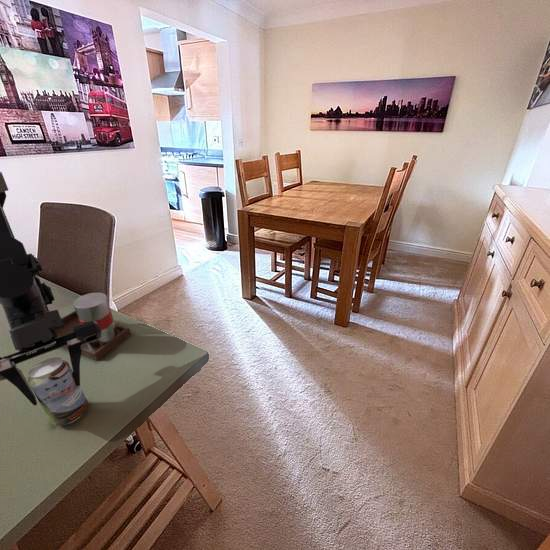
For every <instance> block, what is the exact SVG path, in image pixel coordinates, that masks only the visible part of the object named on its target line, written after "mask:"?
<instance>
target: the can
mask: <svg viewBox="0 0 550 550" xmlns="http://www.w3.org/2000/svg"><path fill="white" fill-rule="evenodd" d="M73 307H74V311H76V313H77V316H78V320H79V323H80V325H81V324H84V323H87V322H90V321H95V322H97V323H98V325H99V328H100V330H101V338H99V339H97V340H94V341H91V342H89V343H87V345H88V347H89V348H90V349H92V350H98V349H99V348H101V347H102V346H103V345H105V344H106V343H108V342H110V341H111V340H113V339H114V338H115V337H116V336H117V331H116V328H115V324H116V323H115V321H114V317H113V313H112V309H111V307H110V303H109V300H108V296H107V295H106V294H105V293H104V292H90V293H86V294H83V295H81V296H79V297H77V298H76V299H75V300H74V301H73ZM114 323H115V324H114Z"/></svg>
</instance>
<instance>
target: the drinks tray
mask: <svg viewBox="0 0 550 550" xmlns="http://www.w3.org/2000/svg"><path fill="white" fill-rule="evenodd" d="M61 320H62V322H63V325H64V327H62V328H59V329H56V330H55V331H56V334H57V337H58V338H59V337H62V336H65V335H68V334H71V333H74V331H73V327H75V326H78V325H80V323H79V320H78V316H77V313H76V310H73V311H71V312H70V313H69V314H68V313H67V315H65V316H63V317H61ZM114 324H115V328H116V331H117V336H116V337H115V338H114V339H113V340H111V341H110V342H108V343H106V344H105V345H103V346H102V347H101V348H99V349H98V350H92V349H90V348H89V347H88V345H87V348H85V349H82V352H81V356H83V357H86V358H89V359H91V360H94V361H96V362H97V361H99V360H101V358H103V357H105V356H106V354H108V353H109V352H110V351H112V350H113V349H115V348H116V347H117V346H118V345H119V344H120V343H122V342H124V340H126V339H127V338H128V337H130V336H131V334H132V333H131V330H130V327H127V326H124V325H121V324H119V323H115V322H114ZM54 345H55V344H54ZM61 349H65V350H67V351H69V350H68V345H67V346H64V347H61Z"/></svg>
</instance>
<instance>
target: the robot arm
mask: <svg viewBox="0 0 550 550" xmlns="http://www.w3.org/2000/svg"><path fill="white" fill-rule="evenodd" d="M7 191H9V187H8V184H7V182H6V179H5V177H4V175H3V172H2V171H0V305H1V306H2V308H3V311H4V314H5V317H6V319H7V322H8V326H9V334H10V338H11V341H12V344H13V347H14V349H15V350H16V351H17V352H14V353H12V354H8V355H6V356H3V357H2V356H0V382H1V381H4V380H7V381H8V382H9V383H10V384H12V385H13V386H15V388H17V389H18V390H19V391H20V392H21V393H22V395H23V396H24V397H25V398H26V399H27V400H28V401H29V402H30V403H31V404H32V406H37V405H38V400H37V397H36V396H35V394H34V392H33V391H32V389H31V387H30V385H29V383H28V379H27V378H26V376H25V375H24V373H23V370H21V369H20V368H18V365H19V364H21V363H24V362H26V361H29V360H32V359H35V358H37V357H39V356H43V355H45V354H47V353H51V352H52V351H55V350H56V351H57V350H59V349H62V347H64V346H67V345H68V350H67V351H68V354H69V358H70V364H71V369H72V371H73V374H74V378H75V381H76V383H77V386H80V387H81V358H82V355H81V352H82V349H85V348H87V343H89V342H91V341H94V340H97V339H99V338H101V330H100V328H99V325H98V323H97V322H95V321H90V322H87V323H84V324H81V325H78V326H75V327H73V331H74V333H71V334H68V335H65V336H62V337H59V338H58V337H57V334H56V331H55V330H56V329H59V328H62V327H64V325H63V322H62V320H61V318H62V317H61V315H60V312H59V309H54V310H49V308H48V305H53V302H54V301H55V297H54V294H53V292H52V289H51V287H50V286H48V285H47V284H46V283H45V282H41V280H40V275H41V274H40V273H41V271H43V268H42V265H41V263H40V260H39V258H38V257H35V255H34V254H33V253H27V251H26V248H25V245H24V243H23V242H22V241H20V240H19V239H17V238H16V237H15V234H14V233H13V230H12V228H11V225H10V222H9V220H8V218H7V217H8V216H7V215H6V213H5V209H4V206H5V203H6V199H7V194H6V192H7ZM54 344H55V345H54Z"/></svg>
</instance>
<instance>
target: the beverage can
mask: <svg viewBox="0 0 550 550" xmlns="http://www.w3.org/2000/svg"><path fill="white" fill-rule="evenodd" d="M27 382H28V384H29V386H30V388H31V390H32V392H33V393H34V395H35V398H36V400H37V402H39V405H40V406H41V408H42V409H43V411H44V413H45V414H46V416H47V418H48V420H49V421H50V423H51V424H52V425H53V426H58V427H61V426H66V425H70V424H72V423H74V422H75V421H77V420H78V419H80V418H81V417H82V416H83V415H84V413H85V412H86V410H88V407H89V401H88V399H87V398H86V395H85V393H84V391H83V389H82V388H81V385H80V386H77V383H76V381H75V378H74V374H73V369H72V366H71V365H70V363H69V362H68V361H67V360H63V358H62V357H57V356H56V357H55V356H54V357H50V358H47V359H45V360H43V361H39V362H38V363H37V364H35V365H34V366H33V367H32V368H31V369H30V370H29V372H28V379H27Z"/></svg>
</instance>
